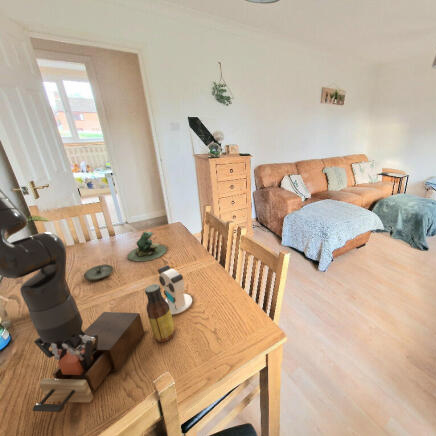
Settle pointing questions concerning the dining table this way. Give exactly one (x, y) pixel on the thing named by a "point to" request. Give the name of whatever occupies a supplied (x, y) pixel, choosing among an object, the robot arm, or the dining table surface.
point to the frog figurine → (146, 249)
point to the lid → (98, 272)
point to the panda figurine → (174, 290)
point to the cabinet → (116, 335)
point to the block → (70, 364)
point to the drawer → (74, 384)
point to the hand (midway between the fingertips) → (78, 366)
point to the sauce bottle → (159, 314)
